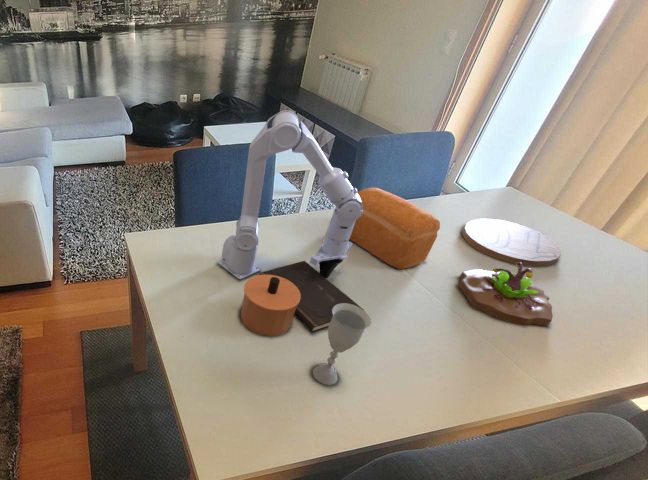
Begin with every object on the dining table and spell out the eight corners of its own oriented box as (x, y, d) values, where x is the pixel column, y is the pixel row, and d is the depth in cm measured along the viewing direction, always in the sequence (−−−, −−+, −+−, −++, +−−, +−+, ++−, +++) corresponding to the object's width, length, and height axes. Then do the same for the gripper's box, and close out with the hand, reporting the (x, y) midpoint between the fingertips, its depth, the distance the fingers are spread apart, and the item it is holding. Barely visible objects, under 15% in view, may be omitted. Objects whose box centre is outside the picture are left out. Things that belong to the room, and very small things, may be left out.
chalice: (303, 363, 90) (325, 304, 79) (332, 361, 91) (358, 302, 79) (316, 390, 84) (343, 330, 73) (347, 387, 85) (378, 328, 74)
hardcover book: (302, 266, 118) (304, 260, 117) (361, 316, 102) (364, 309, 100) (257, 279, 114) (258, 272, 112) (310, 333, 97) (313, 326, 96)
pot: (230, 312, 103) (235, 287, 98) (265, 296, 108) (271, 271, 103) (265, 343, 95) (272, 317, 89) (301, 323, 100) (309, 298, 95)
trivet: (551, 236, 131) (555, 231, 130) (562, 276, 115) (567, 271, 114) (462, 216, 142) (465, 211, 140) (461, 250, 125) (464, 245, 124)
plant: (468, 314, 102) (491, 280, 95) (451, 270, 117) (471, 238, 110) (562, 333, 97) (595, 299, 90) (533, 285, 111) (559, 252, 104)
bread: (396, 272, 116) (419, 225, 106) (331, 229, 135) (345, 186, 125) (429, 261, 120) (454, 215, 110) (361, 221, 139) (377, 178, 129)
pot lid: (232, 289, 98) (234, 274, 95) (270, 271, 104) (274, 257, 101) (272, 321, 89) (276, 306, 86) (311, 300, 95) (316, 285, 92)
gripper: (332, 252, 99) (317, 293, 107) (368, 235, 105) (351, 275, 113) (309, 239, 103) (297, 279, 112) (345, 223, 109) (331, 263, 118)
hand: (323, 276), depth 113 cm, fingers closed
